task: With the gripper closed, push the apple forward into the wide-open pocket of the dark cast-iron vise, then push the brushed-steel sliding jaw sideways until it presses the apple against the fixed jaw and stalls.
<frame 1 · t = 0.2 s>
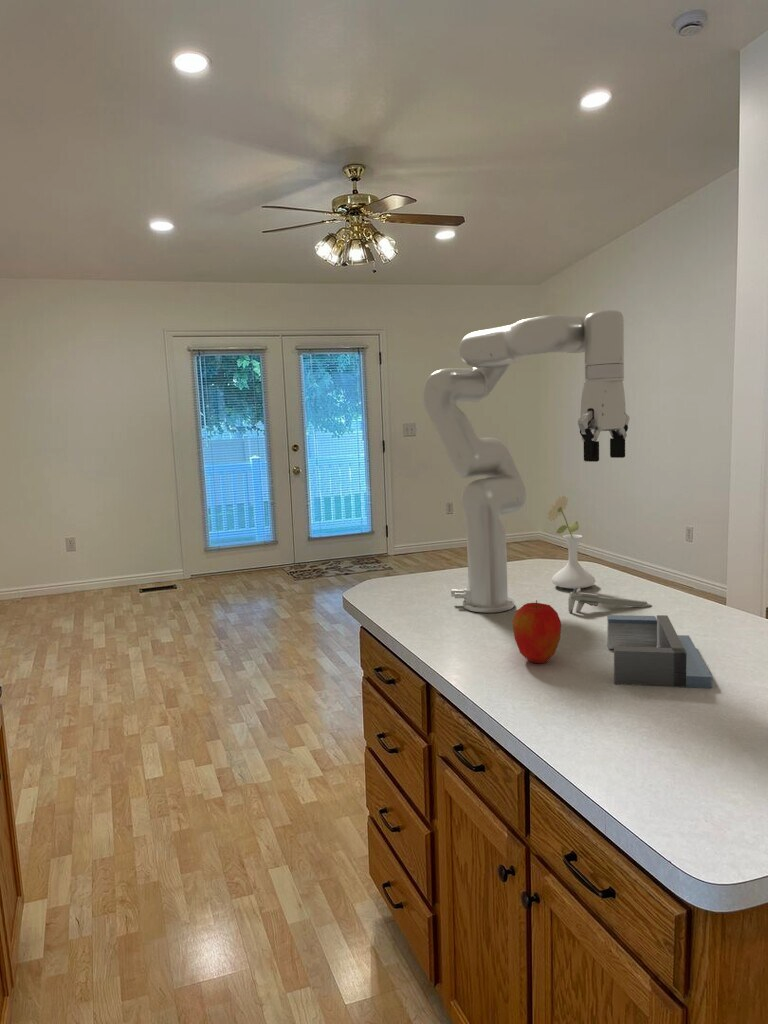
hand: (604, 459, 144), 37 cm above the worktop, tool pointing down, fingers open, 9 cm apart
caliper: (610, 611, 166), on the worktop
apple: (537, 661, 135), on the worktop
flower in vase: (570, 587, 188), on the worktop
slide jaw: (631, 632, 139), point 3 cm above the worktop, slide at 0.0 cm
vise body: (642, 664, 130), on the worktop
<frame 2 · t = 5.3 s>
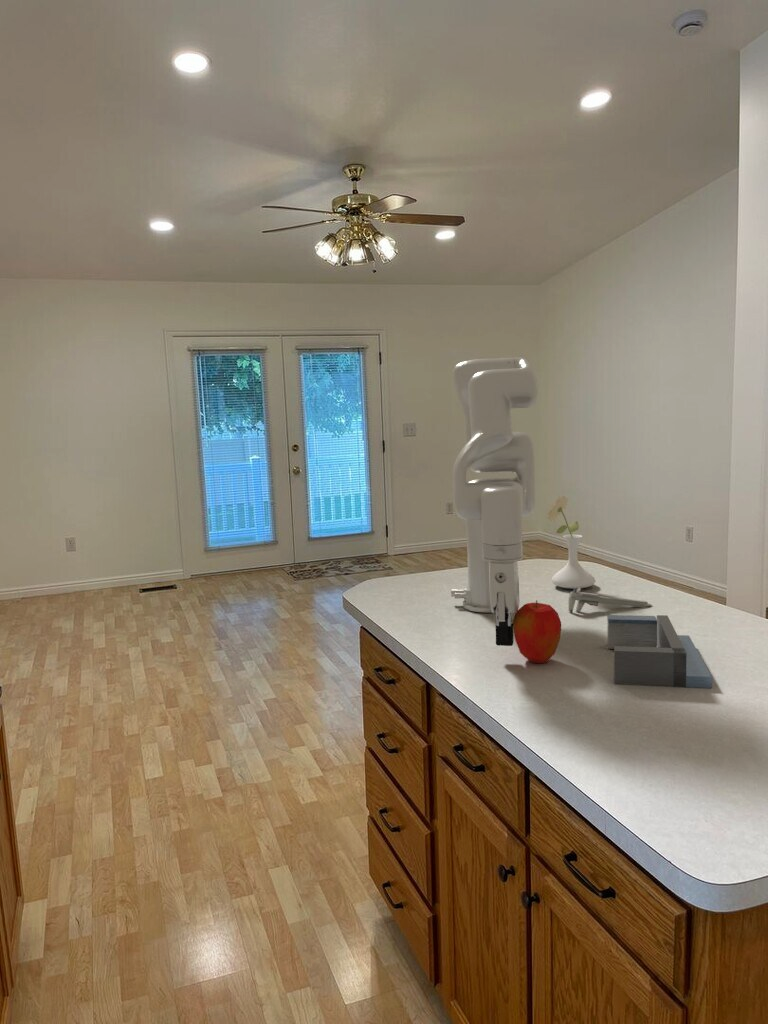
hand: (504, 644, 136), 3 cm above the worktop, tool pointing down, fingers closed
apple: (537, 661, 135), on the worktop, touching gripper
everything else where it was.
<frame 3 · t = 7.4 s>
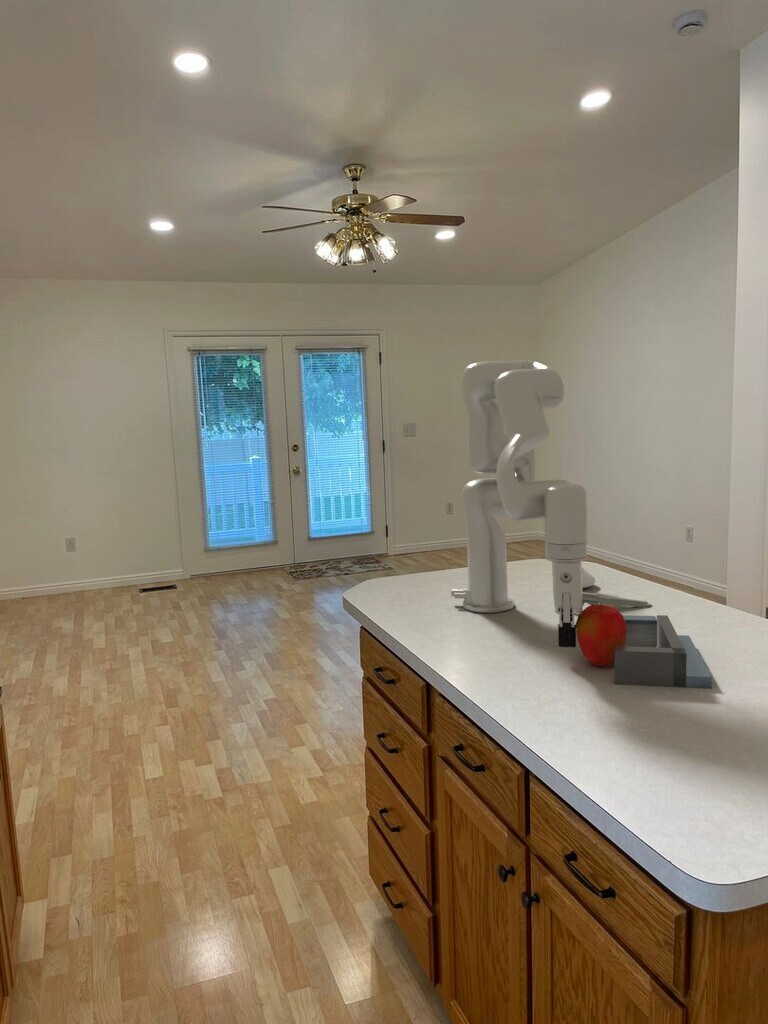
hand: (567, 645, 133), 3 cm above the worktop, tool pointing down, fingers closed
apple: (601, 665, 131), on the worktop, touching gripper
everything else where it was.
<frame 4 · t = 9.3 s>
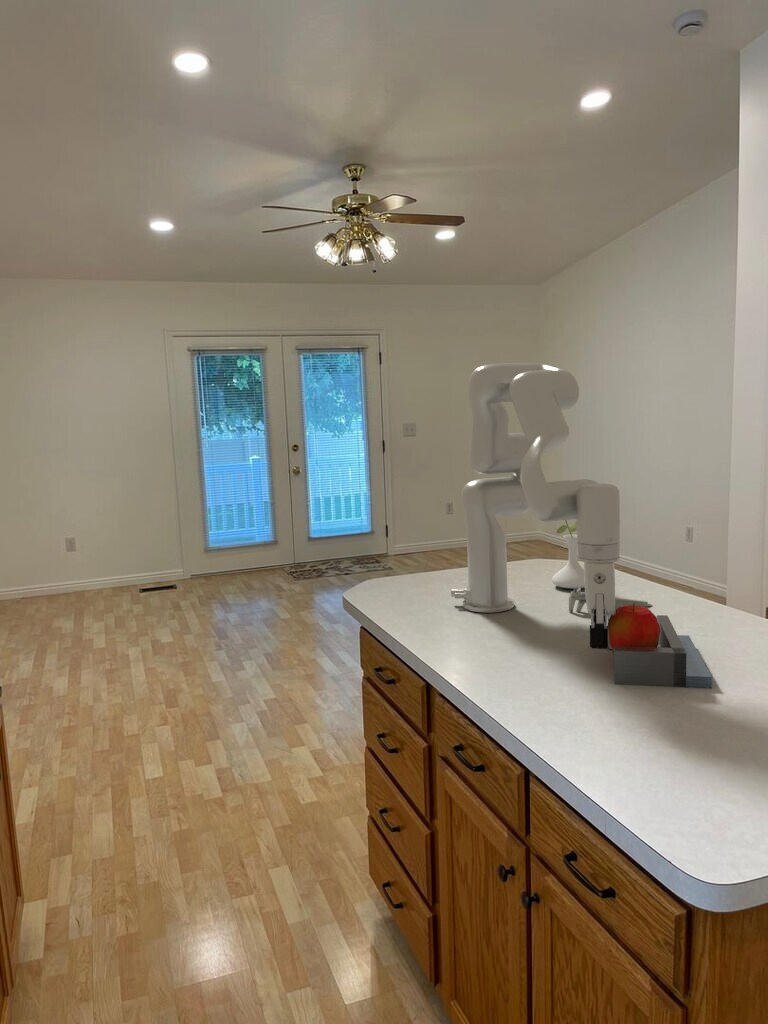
hand: (598, 647, 132), 3 cm above the worktop, tool pointing down, fingers closed
apple: (633, 666, 130), on the worktop, touching gripper
everything else where it was.
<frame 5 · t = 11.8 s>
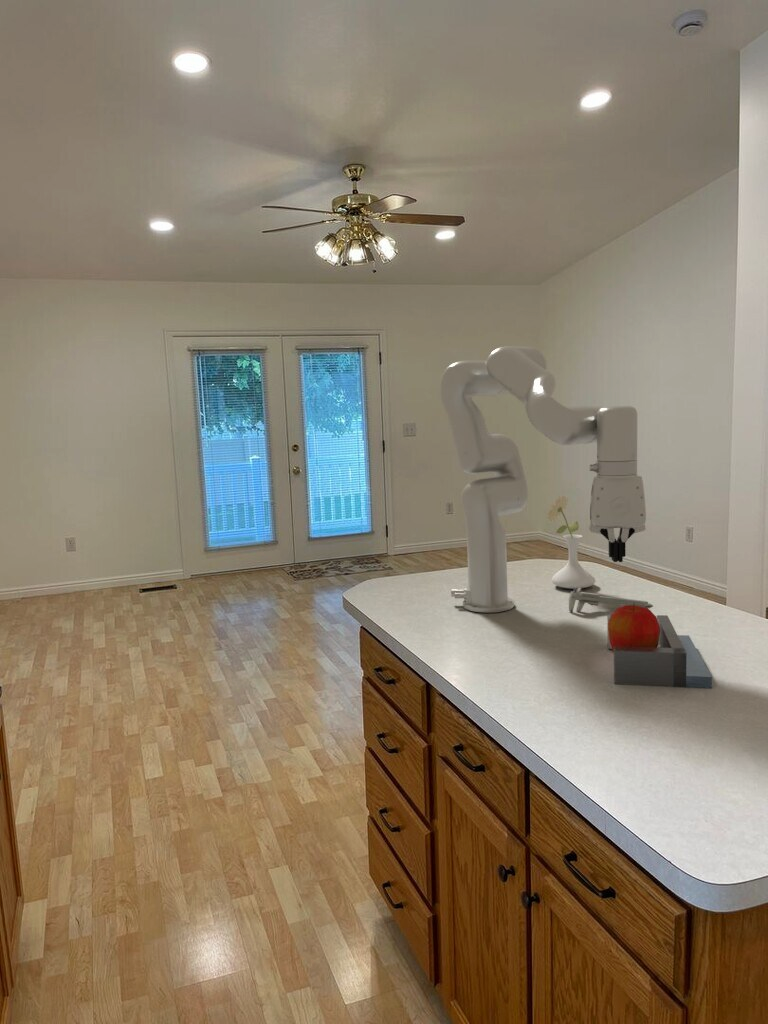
hand: (616, 560, 141), 17 cm above the worktop, tool pointing down, fingers closed
apple: (633, 666, 130), on the worktop
everything else where it was.
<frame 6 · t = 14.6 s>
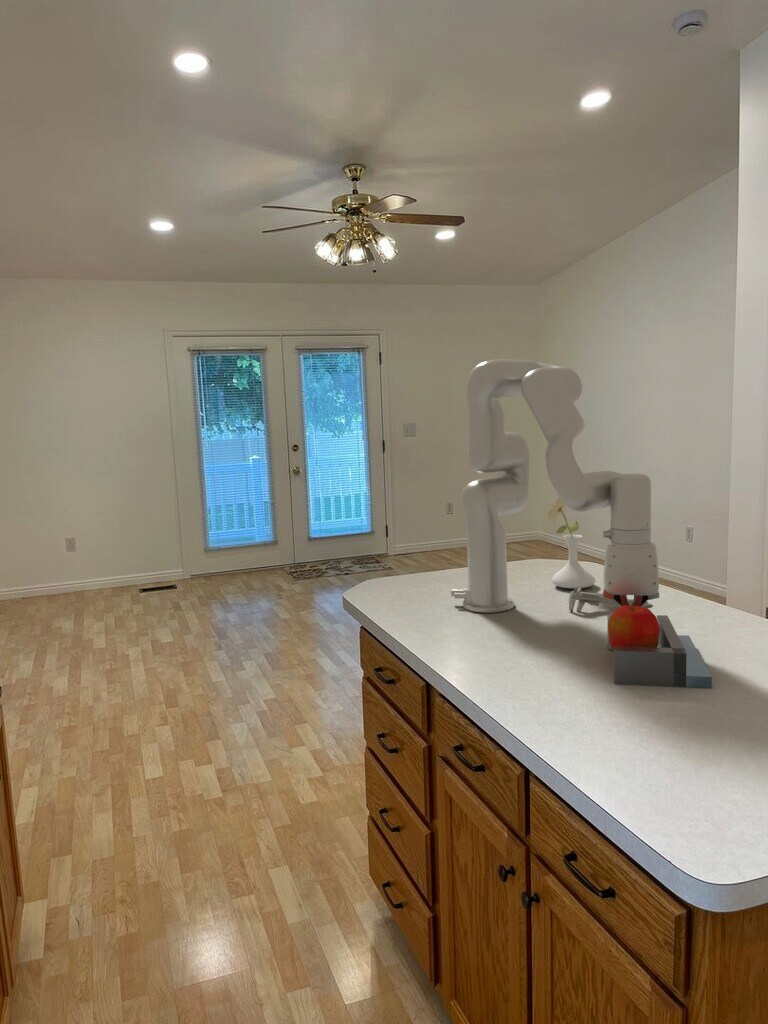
hand: (630, 626, 141), 4 cm above the worktop, tool pointing down, fingers closed
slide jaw: (631, 632, 138), point 3 cm above the worktop, slide at 0.3 cm, touching gripper
everything else where it was.
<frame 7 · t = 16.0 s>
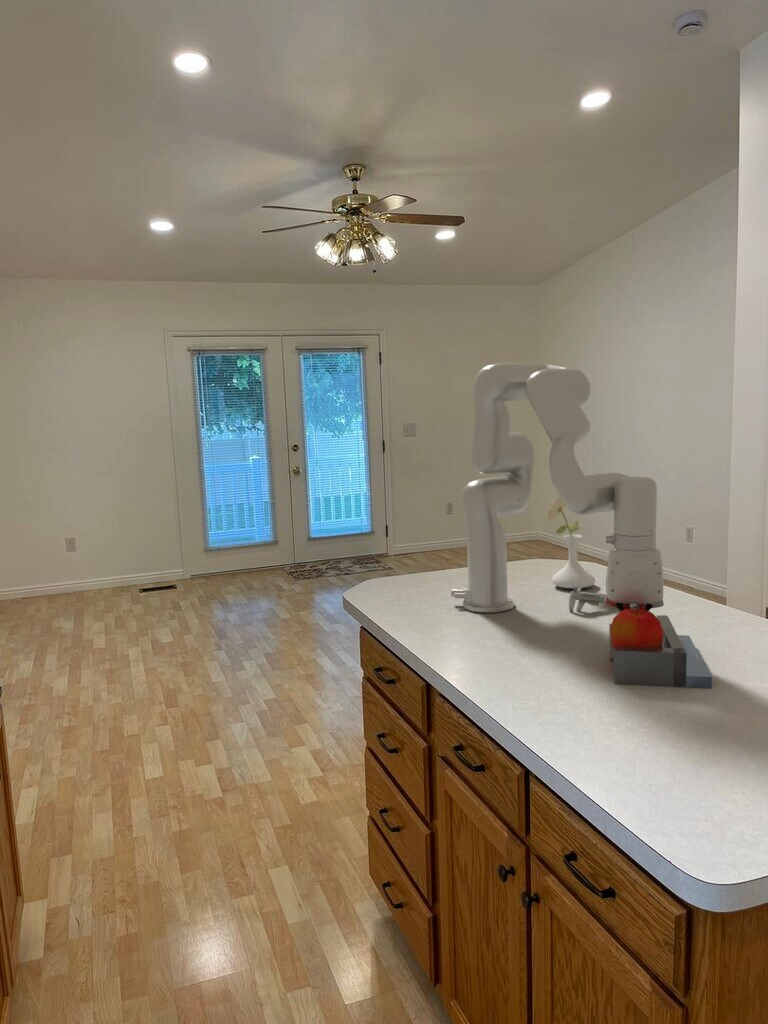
hand: (633, 634, 136), 4 cm above the worktop, tool pointing down, fingers closed
apple: (636, 671, 128), on the worktop, touching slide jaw, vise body
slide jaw: (634, 642, 133), point 3 cm above the worktop, slide at 5.9 cm, touching apple, gripper
everything else where it was.
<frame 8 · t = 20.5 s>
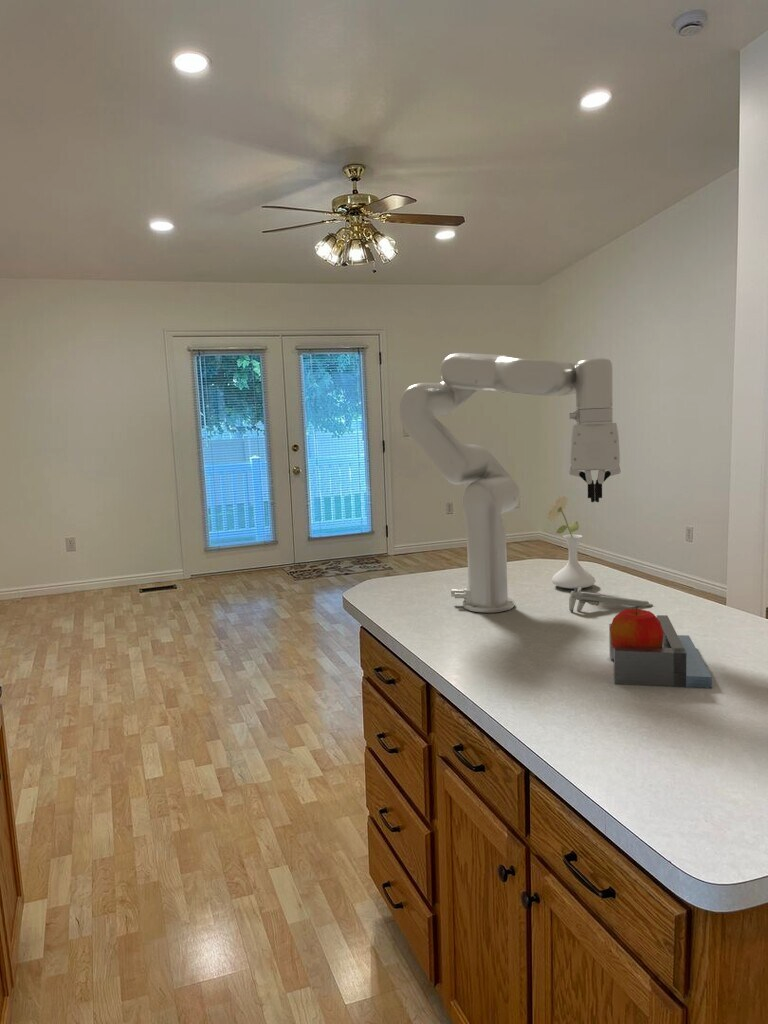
hand: (594, 501, 154), 27 cm above the worktop, tool pointing down, fingers closed
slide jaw: (634, 642, 133), point 3 cm above the worktop, slide at 5.9 cm, touching apple
everything else where it was.
at the end: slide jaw slide at 5.9 cm; apple inside the target area (0.4 cm from its centre), on the worktop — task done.
